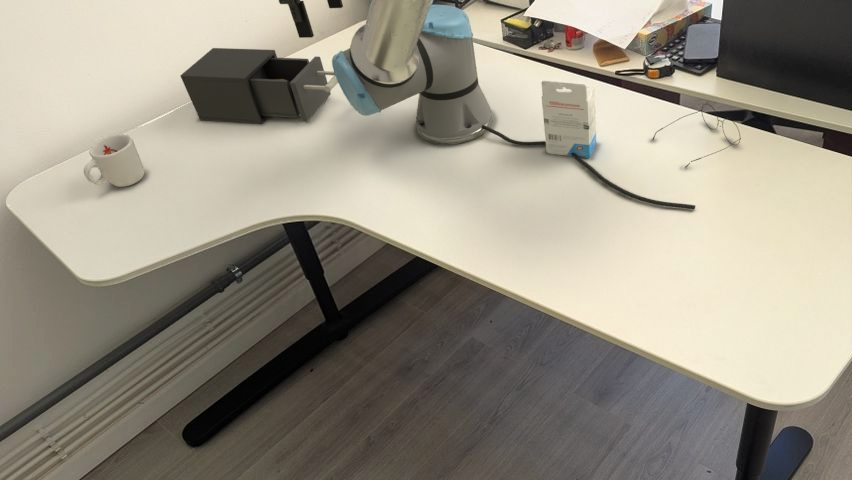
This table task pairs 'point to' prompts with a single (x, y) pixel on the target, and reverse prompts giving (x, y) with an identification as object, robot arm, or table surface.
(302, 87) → the drawer
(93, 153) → the cup
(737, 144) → the eyeglasses
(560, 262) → the table surface
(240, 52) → the cabinet
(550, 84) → the ink box
